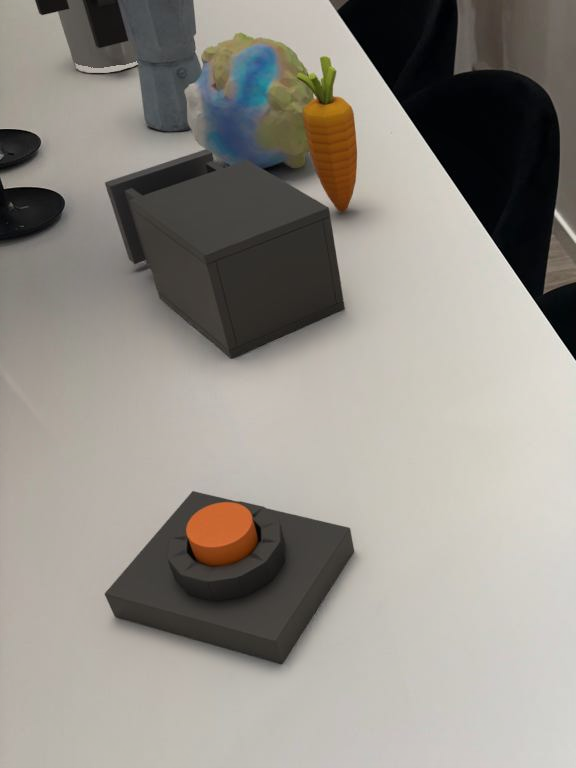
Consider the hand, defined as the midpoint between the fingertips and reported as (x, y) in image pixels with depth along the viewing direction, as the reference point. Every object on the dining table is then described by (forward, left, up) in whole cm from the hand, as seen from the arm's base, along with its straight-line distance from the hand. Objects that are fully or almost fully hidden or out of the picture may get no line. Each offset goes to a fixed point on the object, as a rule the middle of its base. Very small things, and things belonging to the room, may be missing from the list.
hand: (82, 27), depth 89 cm
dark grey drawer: (+12, -7, -18) cm, 22 cm away
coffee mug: (-33, +40, -19) cm, 55 cm away
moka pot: (-12, +25, -19) cm, 34 cm away
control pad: (+37, -43, -19) cm, 60 cm away
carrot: (+20, +7, -19) cm, 29 cm away
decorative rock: (+6, +17, -19) cm, 26 cm away
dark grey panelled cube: (+20, -12, -19) cm, 30 cm away
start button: (+37, -43, -15) cm, 59 cm away
